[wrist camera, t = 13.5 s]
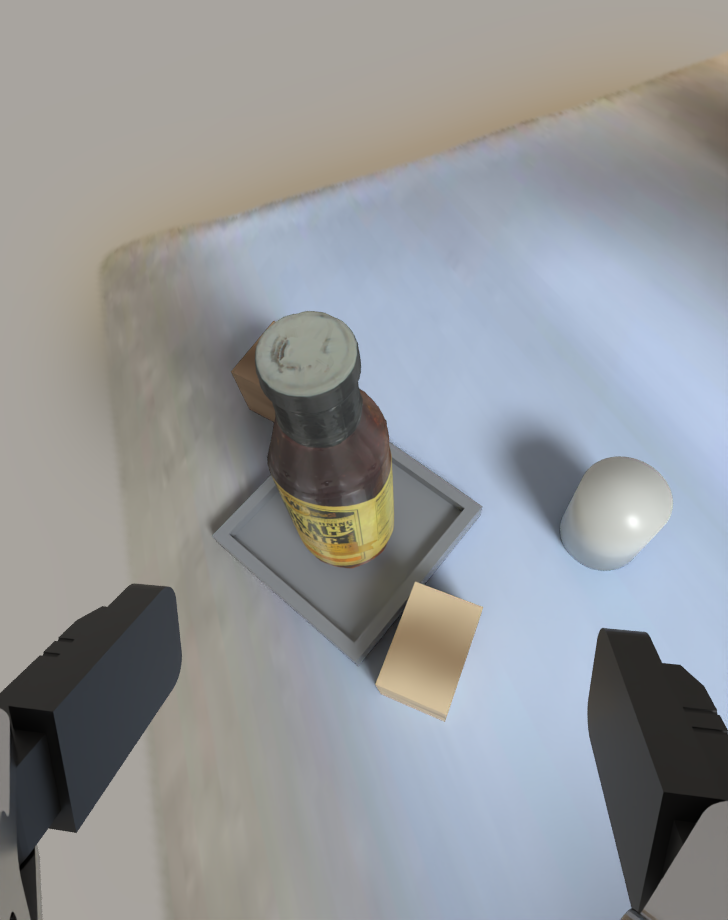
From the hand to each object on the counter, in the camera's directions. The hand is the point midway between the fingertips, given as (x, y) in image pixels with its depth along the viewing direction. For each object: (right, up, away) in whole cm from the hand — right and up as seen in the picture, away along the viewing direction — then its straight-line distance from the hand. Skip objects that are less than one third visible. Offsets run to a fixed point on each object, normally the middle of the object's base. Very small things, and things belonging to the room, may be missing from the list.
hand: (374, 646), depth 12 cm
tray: (-1, -1, +30) cm, 30 cm away
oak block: (+4, -9, +26) cm, 28 cm away
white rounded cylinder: (+15, -1, +29) cm, 32 cm away
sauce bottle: (-1, -1, +30) cm, 30 cm away
